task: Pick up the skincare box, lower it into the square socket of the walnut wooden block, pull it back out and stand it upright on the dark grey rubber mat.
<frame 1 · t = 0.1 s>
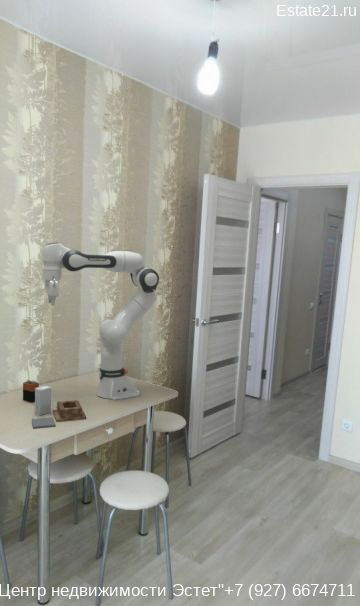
hand: (51, 304, 220), 48 cm above the table, tool pointing down, fingers open, 8 cm apart
socket block: (69, 415, 205), on the table
skincare box: (42, 413, 206), on the table
battery: (30, 401, 222), on the table
rubber mat: (43, 423, 194), on the table
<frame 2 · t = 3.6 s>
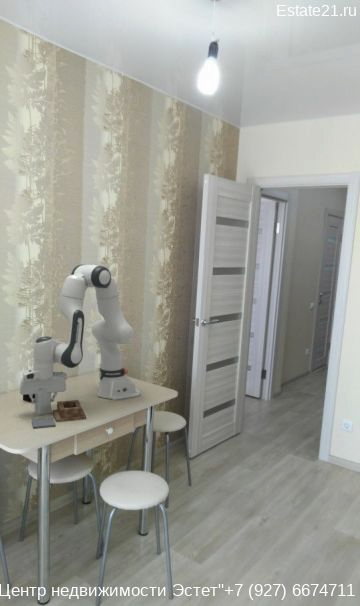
hand: (43, 402, 206), 5 cm above the table, tool pointing down, fingers closed on skincare box, 7 cm apart
skincare box: (42, 413, 206), on the table, touching gripper
everything else where it was.
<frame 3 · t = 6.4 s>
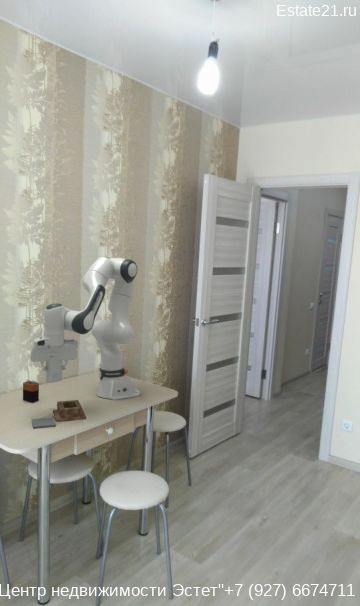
hand: (54, 370, 204), 20 cm above the table, tool pointing down, fingers closed on skincare box, 7 cm apart
skincare box: (53, 381, 205), point 15 cm above the table, touching gripper
everything else where it was.
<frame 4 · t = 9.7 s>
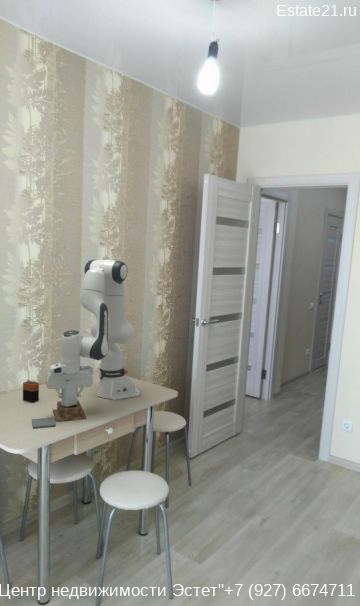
hand: (69, 396, 204), 9 cm above the table, tool pointing down, fingers closed on skincare box, 7 cm apart
skincare box: (69, 405, 204), point 5 cm above the table, touching gripper, socket block
everything else where it was.
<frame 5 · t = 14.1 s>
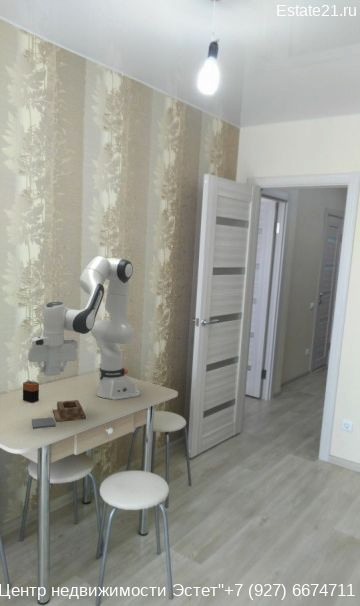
hand: (52, 371, 195), 22 cm above the table, tool pointing down, fingers closed on skincare box, 7 cm apart
skincare box: (51, 375, 195), point 21 cm above the table, touching gripper
everything else where it was.
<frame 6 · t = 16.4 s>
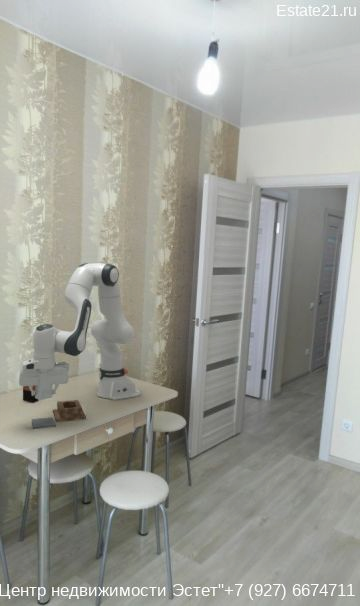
hand: (43, 394, 193), 13 cm above the table, tool pointing down, fingers closed on skincare box, 7 cm apart
skincare box: (43, 398, 193), point 11 cm above the table, touching gripper
everything else where it was.
when the fingers open (7 cm above the table, at t = 18.3 s): skincare box drops 5 cm, resting on rubber mat.
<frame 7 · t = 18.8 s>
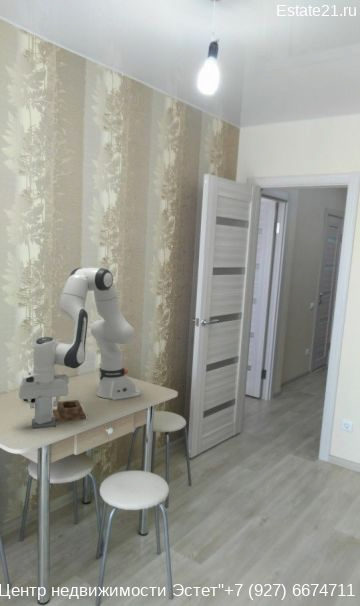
hand: (43, 407, 193), 7 cm above the table, tool pointing down, fingers open, 8 cm apart
skincare box: (43, 422, 194), point 1 cm above the table, touching rubber mat
everything else where it was.
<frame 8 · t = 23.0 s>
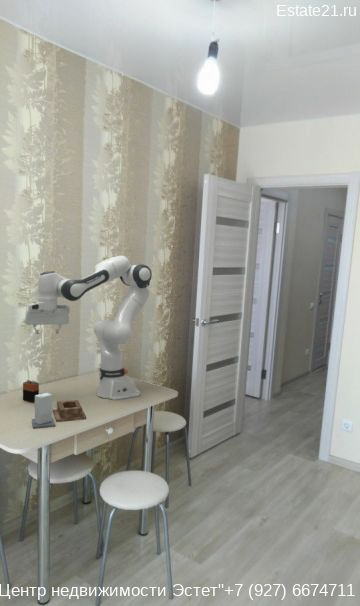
hand: (47, 333, 217), 34 cm above the table, tool pointing down, fingers open, 8 cm apart
nothing on the table moved.
at the end: skincare box 0.1 cm off-centre on the rubber mat, point 0.6 cm above the rubber mat's base; skincare box tilted 0°; the gripper is holding nothing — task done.
